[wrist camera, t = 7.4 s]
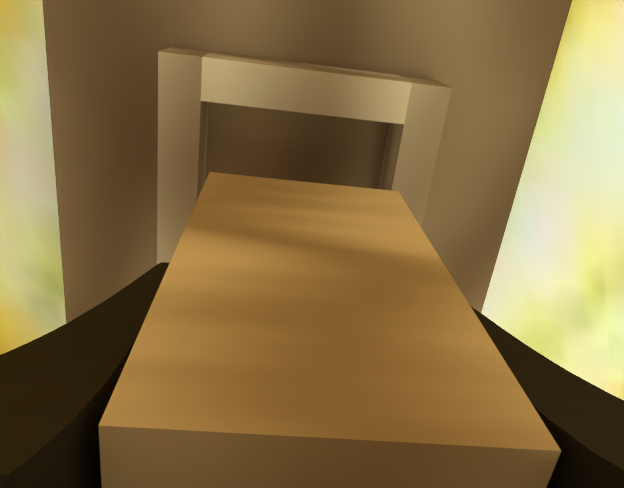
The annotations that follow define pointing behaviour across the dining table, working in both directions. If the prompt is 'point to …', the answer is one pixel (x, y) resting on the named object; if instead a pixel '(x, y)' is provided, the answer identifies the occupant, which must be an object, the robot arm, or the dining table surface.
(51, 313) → the dining table surface
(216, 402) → the birch peg
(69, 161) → the square peg socket base
